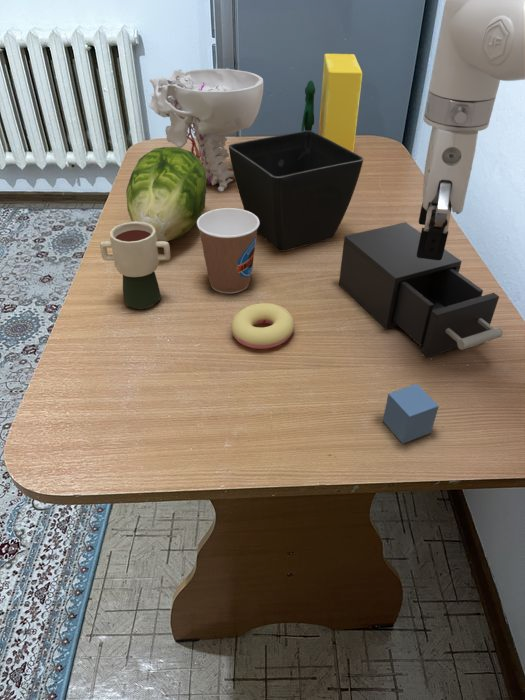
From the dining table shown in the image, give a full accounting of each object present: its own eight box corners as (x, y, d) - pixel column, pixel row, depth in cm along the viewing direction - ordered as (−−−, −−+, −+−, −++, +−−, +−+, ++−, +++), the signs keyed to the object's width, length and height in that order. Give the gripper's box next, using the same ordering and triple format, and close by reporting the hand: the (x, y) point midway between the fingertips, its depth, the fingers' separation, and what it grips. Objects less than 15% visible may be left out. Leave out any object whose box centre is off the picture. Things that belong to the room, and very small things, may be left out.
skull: (260, 167, 142) (262, 68, 128) (263, 199, 128) (265, 91, 113) (161, 167, 141) (150, 67, 127) (152, 199, 127) (139, 91, 112)
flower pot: (228, 223, 118) (226, 142, 108) (305, 205, 125) (310, 128, 115) (272, 264, 105) (275, 177, 95) (355, 242, 113) (366, 159, 102)
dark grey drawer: (505, 354, 84) (521, 312, 80) (444, 375, 81) (457, 332, 76) (430, 294, 97) (440, 254, 92) (374, 309, 93) (381, 269, 88)
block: (431, 433, 73) (439, 405, 70) (402, 444, 72) (409, 416, 69) (410, 410, 76) (416, 383, 73) (382, 420, 75) (388, 393, 72)
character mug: (176, 289, 99) (170, 221, 90) (173, 313, 93) (165, 242, 85) (114, 289, 98) (101, 221, 90) (106, 313, 93) (92, 242, 84)
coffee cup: (248, 304, 95) (248, 240, 88) (191, 293, 98) (186, 230, 90) (265, 273, 103) (267, 212, 95) (213, 264, 105) (210, 204, 98)
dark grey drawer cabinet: (448, 311, 95) (461, 260, 89) (385, 329, 90) (395, 278, 84) (396, 269, 105) (405, 222, 99) (338, 284, 101) (344, 235, 94)
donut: (301, 345, 90) (264, 312, 95) (309, 323, 87) (271, 289, 92) (253, 363, 84) (217, 327, 89) (260, 340, 81) (222, 303, 86)
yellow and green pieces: (297, 152, 151) (303, 53, 136) (344, 153, 151) (354, 54, 135) (299, 178, 137) (305, 71, 122) (350, 179, 137) (362, 72, 122)
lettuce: (116, 265, 104) (102, 185, 95) (147, 203, 125) (138, 132, 115) (196, 269, 104) (190, 189, 94) (214, 206, 124) (211, 135, 115)
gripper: (497, 136, 59) (459, 277, 70) (486, 92, 72) (456, 216, 83) (424, 129, 60) (397, 268, 71) (426, 87, 73) (404, 210, 84)
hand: (429, 240), depth 77 cm, fingers open, 9 cm apart
